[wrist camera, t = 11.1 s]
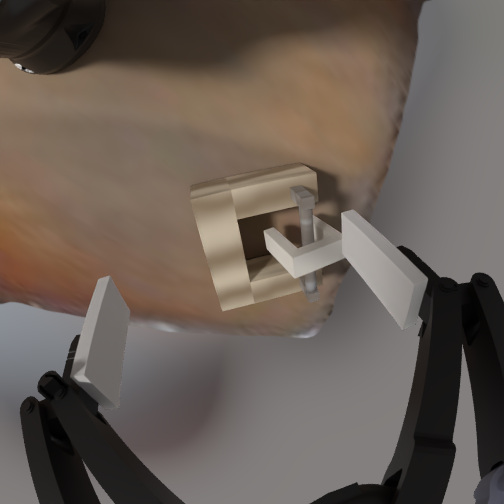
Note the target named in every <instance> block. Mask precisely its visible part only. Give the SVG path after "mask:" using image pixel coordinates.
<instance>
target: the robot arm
mask: <svg viewBox="0 0 504 504" xmlns="http://www.w3.org/2000/svg"><path fill="white" fill-rule="evenodd" d="M104 16H105V3H104V0H0V58H8V59H10V60H11V61H12V62H13V63H14V64H15V65H16V66H17V67H18V68H19V69H20V70H22V71H24V72H27V73H31V74H50V73H54V72H57V71H60V70H62V69H64V68H66V67H67V66H69V65H71V64H72V63H73V62H75V61H76V60H77V59H78V58H80V57H81V56H82V55H83V54H84V53H85V52H86V51H87V49H88V48H89V47H90V46H91V44H92V43H93V42H94V40H95V39H96V37H97V35H98V33H99V31H100V29H101V27H102V24H103V20H104ZM341 218H342V254H343V255H344V256H345V257H346V259H347V260H348V261H349V262H350V263H351V265H352V266H353V267H354V268H355V269H356V271H357V272H358V273H359V274H360V276H361V277H362V278H363V279H364V281H365V282H366V283H367V284H368V286H369V287H370V288H371V289H372V291H373V292H374V293H375V295H376V296H377V297H378V298H379V300H380V301H381V302H382V304H383V305H384V306H385V307H386V309H387V310H388V311H389V313H390V314H391V315H392V317H393V318H394V319H395V320H396V322H397V323H398V325H399V326H400V327H401V329H402V330H405V329H407V328H409V327H411V326H413V325H415V324H416V321H417V319H418V315H419V317H420V318H421V319H422V320H423V322H422V325H421V328H420V331H419V334H418V336H420V341H419V349H418V355H417V361H416V367H415V373H414V378H413V383H412V388H411V393H410V398H409V402H408V407H407V411H406V415H405V418H404V422H403V426H402V430H401V433H400V437H399V440H398V443H397V447H396V450H395V453H394V456H393V458H392V461H391V463H390V464H389V466H388V469H387V471H386V473H385V475H384V478H383V481H382V483H381V485H379V484H362V485H358V483H357V482H356V483H354V484H352V485H349V486H346V487H344V488H341V489H338V490H336V491H333V492H330V493H328V494H326V495H324V496H322V497H321V498H319V499H317V500H316V501H314V502H312V503H310V504H442V502H443V499H444V495H445V492H446V489H447V486H448V482H449V478H450V475H451V471H452V467H453V463H454V458H455V453H456V447H455V444H454V443H453V441H452V440H453V433H454V427H455V421H456V414H457V406H458V399H459V389H460V378H461V377H460V376H461V361H462V344H463V349H464V353H465V357H466V362H467V367H468V372H469V378H470V383H471V390H472V396H473V403H474V411H475V421H476V431H477V446H478V462H479V471H480V476H481V481H480V482H479V484H478V486H477V488H476V490H475V491H474V498H475V499H476V503H475V504H504V302H503V300H502V297H501V295H500V293H499V291H498V289H497V286H496V285H495V282H494V281H493V279H492V278H491V277H490V276H489V275H487V274H484V273H475V274H474V275H473V276H472V278H471V281H470V282H469V283H461V284H458V283H457V282H455V281H454V280H453V279H451V278H447V277H441V278H440V277H439V276H438V275H437V274H436V273H435V272H434V271H433V270H432V269H431V268H430V267H429V266H428V265H427V264H426V263H424V262H422V260H421V259H420V258H419V257H417V255H416V254H415V253H414V252H413V251H411V250H410V249H408V248H406V247H404V246H399V247H395V246H394V245H393V244H392V243H391V242H389V241H388V240H387V239H386V238H385V237H384V236H383V235H382V234H381V233H380V232H378V231H377V230H376V229H375V228H374V227H373V226H372V225H371V224H369V223H368V222H367V221H366V220H365V219H364V218H362V217H361V216H360V215H359V214H358V213H357V212H355V211H354V210H350V211H346V212H342V213H341ZM129 317H130V310H129V308H128V307H127V305H126V303H125V302H124V300H123V298H122V296H121V295H120V293H119V291H118V289H117V287H116V286H115V284H114V282H113V280H112V278H111V277H110V276H107V277H103V278H100V279H98V282H97V285H96V288H95V291H94V294H93V297H92V300H91V303H90V306H89V309H88V312H87V315H86V318H85V322H84V325H83V329H82V332H81V334H80V335H76V337H75V338H74V340H73V341H72V343H71V346H70V349H69V353H68V357H67V361H66V364H65V369H64V373H63V377H60V375H59V374H58V373H57V372H56V371H48V372H47V373H45V374H44V375H43V376H42V377H41V378H40V380H39V382H38V387H37V388H38V392H39V393H40V394H42V395H43V396H44V397H45V398H46V399H44V400H42V401H40V402H39V401H38V400H37V399H36V398H35V397H32V396H30V397H27V398H26V399H25V400H24V401H23V403H22V404H21V407H20V417H21V425H22V431H23V438H24V443H25V448H26V454H27V458H28V463H29V467H30V472H31V476H32V479H33V483H34V487H35V490H36V493H37V497H38V500H39V503H40V504H101V503H100V501H99V499H98V497H97V495H96V493H95V491H94V488H93V486H92V484H91V481H90V479H89V477H88V474H87V471H86V469H85V466H84V464H83V461H84V462H85V464H86V466H87V467H88V468H89V470H90V471H91V473H92V474H93V476H94V477H95V478H96V480H97V481H98V482H99V484H100V485H101V487H102V488H103V489H104V490H105V492H106V493H107V494H108V496H109V497H110V498H111V499H112V500H113V502H114V503H115V504H185V503H184V502H182V500H180V499H179V498H178V497H177V496H176V495H175V494H174V493H172V492H171V491H170V490H169V489H168V488H167V487H166V486H165V485H164V484H163V483H162V482H161V481H160V480H159V479H158V478H157V477H156V476H155V475H154V474H153V473H151V471H150V470H149V469H148V468H147V467H146V466H145V465H144V464H143V463H142V462H141V461H140V460H139V459H138V458H137V456H136V455H135V454H134V453H133V452H132V451H131V450H130V449H129V447H127V445H126V444H125V443H124V442H123V441H122V439H121V438H120V437H119V436H118V434H117V433H116V432H115V431H114V430H113V428H112V427H111V426H110V425H109V423H108V422H107V421H106V419H105V418H104V417H103V415H102V414H101V413H100V412H99V411H98V404H99V405H100V406H101V407H103V408H104V409H105V410H111V409H119V401H120V389H121V378H122V368H123V359H124V351H125V344H126V336H127V329H128V323H129ZM82 460H83V461H82Z"/></svg>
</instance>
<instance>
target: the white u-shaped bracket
mask: <svg viewBox="0 0 504 504" xmlns="http://www.w3.org/2000/svg"><path fill="white" fill-rule="evenodd" d="M313 226H314V241H315V242H314V243H311V244H309V245H306V246H303V247H300V248H296V247H295V246H294V245H293V244H292V243H291V242H290V241H289V240H287V239H286V238H285V237H284V236H283V235H282V234H280V233H279V232H278V231H277V230H276V229H275V228H274V227H273V228H270V229H267V230H264V236H265V242H266V248H267V250H268V251H269V252H270V253H271V254H272V255H273V256H274V257H275V258H276V259H277V260H278V261H279V262H280V263H281V265H282V266H283V267H284V268H285V269H286V270H287V271H288V272H289V273H290V274H291V275H292V276H293V277H294V278H298V277H300V276H303V275H305V274H308V273H310V272H313V271H315V270H317V269H320V268H322V267H325V266H327V265H330V264H332V263H334V262H337V261H339V260H342V259H344V258H346V257H345V256H344V255H343V254H342V233H340V232H339V231H337V230H336V229H334V228H333V227H331V226H330V225H328V224H327V223H325V222H323V221H322V220H320V219H319V218H317V217H316V216H314V215H313Z"/></svg>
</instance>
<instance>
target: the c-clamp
mask: <svg viewBox="0 0 504 504" xmlns="http://www.w3.org/2000/svg"><path fill="white" fill-rule="evenodd" d="M190 200H191V204H192V208H193V211H194V215H195V219H196V222H197V226H198V230H199V233H200V237H201V241H202V244H203V248H204V251H205V255H206V258H207V262H208V265H209V268H210V272H211V275H212V279H213V282H214V285H215V289H216V292H217V295H218V298H219V302H220V305H221V308H222V311H225V310H229V309H233V308H237V307H242V306H246V305H250V304H254V303H257V302H261V301H265V300H269V299H273V298H277V297H280V296H284V295H288V294H292V293H295V292H299V291H303V292H304V294H305V296H306V297H307V299H308V301H309V303H311V302H314V301H317V300H319V291H318V289H317V286H320V285H323V284H322V268H320V269H317V270H315V271H313V272H310V273H308V274H305V275H303V276H300V277H298V278H294V277H293V276H292V275H291V274H290V273H289V272H288V271H287V270H286V269H285V268H284V267H283V266H282V265H281V263H280V262H279V261H278V260H277V259H276V258H275V257H274V256H273V255H272V254H270V255H266V256H262V257H258V258H254V259H250V260H245V256H244V251H243V246H242V241H241V236H240V232H239V227H238V222H237V220H238V219H242V218H246V217H251V216H255V215H259V214H264V213H268V212H273V211H277V210H282V209H286V208H291V207H295V206H299V216H300V226H301V237H302V247H303V246H306V245H309V244H311V243H314V242H315V241H314V226H313V212H312V209H314V208H315V203H314V202H319V200H318V187H317V175H316V172H314V171H313V170H311V169H310V168H308V167H306V166H305V165H303V164H302V163H296V164H290V165H285V166H279V167H274V168H269V169H264V170H259V171H254V172H249V173H244V174H240V175H235V176H231V177H226V178H222V179H217V180H213V181H209V182H205V183H201V184H197V185H193V186H191V195H190ZM298 248H300V247H298Z"/></svg>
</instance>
